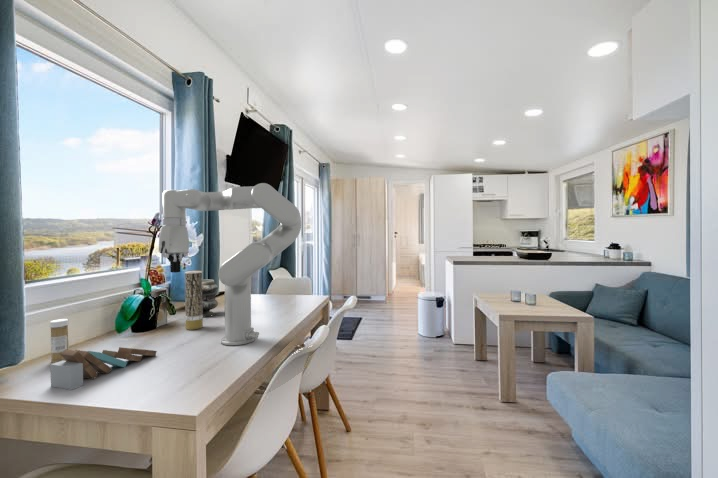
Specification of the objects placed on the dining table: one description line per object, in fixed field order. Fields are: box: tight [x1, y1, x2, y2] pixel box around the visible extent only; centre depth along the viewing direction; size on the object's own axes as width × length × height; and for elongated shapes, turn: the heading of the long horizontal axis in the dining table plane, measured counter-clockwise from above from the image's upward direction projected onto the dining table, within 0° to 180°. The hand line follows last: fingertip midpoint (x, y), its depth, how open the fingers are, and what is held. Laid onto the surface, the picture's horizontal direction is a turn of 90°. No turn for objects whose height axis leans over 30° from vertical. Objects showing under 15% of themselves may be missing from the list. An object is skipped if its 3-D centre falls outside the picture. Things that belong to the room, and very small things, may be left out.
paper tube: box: [184, 270, 204, 331], centre depth 152 cm, size 7×7×25 cm
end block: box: [49, 361, 84, 391], centre depth 94 cm, size 8×3×6 cm, turn 72°
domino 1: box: [60, 349, 99, 380], centre depth 97 cm, size 2×5×10 cm
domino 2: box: [74, 349, 113, 375], centre depth 100 cm, size 2×5×10 cm
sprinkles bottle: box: [49, 318, 70, 364], centre depth 113 cm, size 5×5×14 cm
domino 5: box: [117, 346, 158, 357], centre depth 114 cm, size 2×5×10 cm
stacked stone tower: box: [202, 279, 219, 318], centre depth 178 cm, size 12×12×18 cm
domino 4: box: [101, 349, 143, 362], centre depth 109 cm, size 2×5×10 cm
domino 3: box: [88, 350, 128, 368], centre depth 104 cm, size 2×5×10 cm
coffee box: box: [139, 289, 168, 328], centre depth 157 cm, size 9×6×16 cm
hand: (175, 272), depth 130 cm, fingers closed
